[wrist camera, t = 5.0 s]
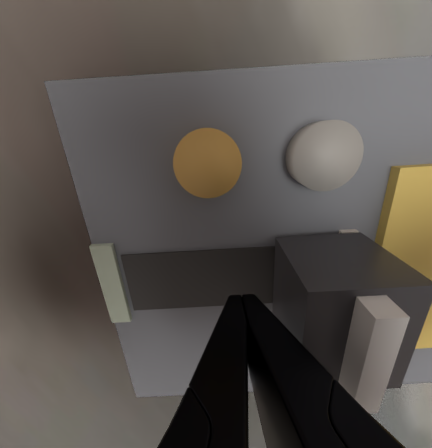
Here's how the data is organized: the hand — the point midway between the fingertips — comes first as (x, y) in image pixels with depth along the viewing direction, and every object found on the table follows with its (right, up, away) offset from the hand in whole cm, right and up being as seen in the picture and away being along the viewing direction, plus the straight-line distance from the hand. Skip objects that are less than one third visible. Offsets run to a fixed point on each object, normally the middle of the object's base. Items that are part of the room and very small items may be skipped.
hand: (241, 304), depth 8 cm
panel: (+4, +1, +2) cm, 5 cm away
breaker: (+3, +1, +1) cm, 3 cm away
